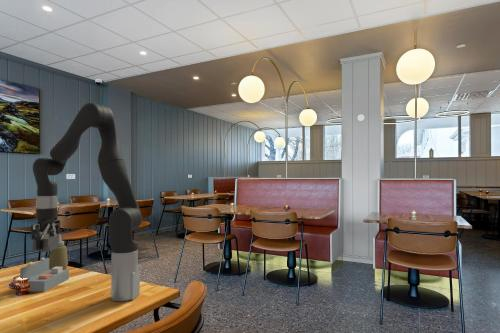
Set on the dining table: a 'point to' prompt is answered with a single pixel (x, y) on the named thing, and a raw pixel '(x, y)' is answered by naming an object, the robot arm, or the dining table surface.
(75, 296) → the dining table surface
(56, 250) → the squeeze bottle
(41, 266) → the breaker box
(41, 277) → the breaker button
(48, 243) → the grey square block
